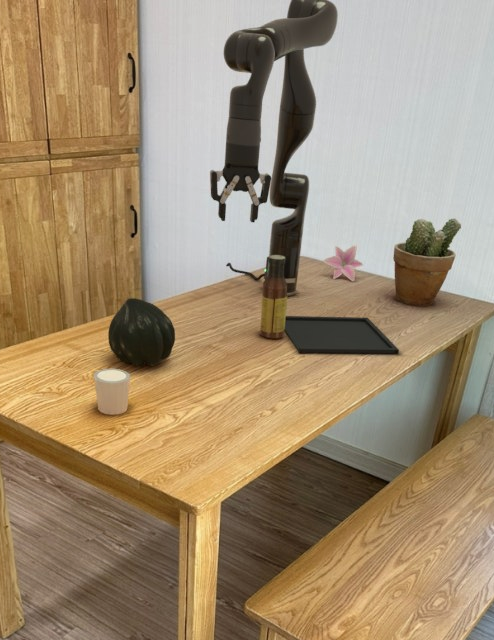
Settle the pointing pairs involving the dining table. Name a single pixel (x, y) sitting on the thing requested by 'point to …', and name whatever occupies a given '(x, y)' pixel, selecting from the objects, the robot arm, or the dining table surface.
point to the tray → (337, 335)
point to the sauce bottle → (274, 299)
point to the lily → (344, 262)
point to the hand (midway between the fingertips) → (237, 220)
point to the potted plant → (423, 262)
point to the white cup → (112, 390)
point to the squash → (141, 333)
